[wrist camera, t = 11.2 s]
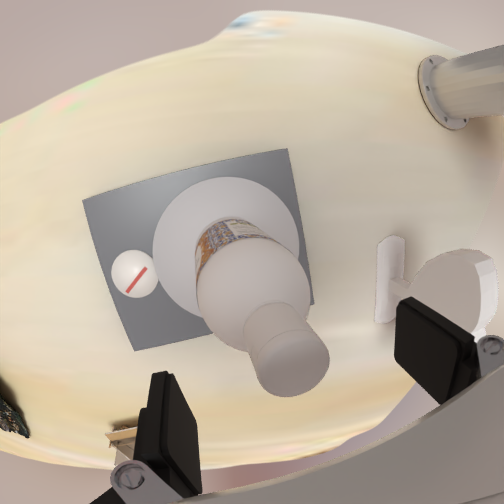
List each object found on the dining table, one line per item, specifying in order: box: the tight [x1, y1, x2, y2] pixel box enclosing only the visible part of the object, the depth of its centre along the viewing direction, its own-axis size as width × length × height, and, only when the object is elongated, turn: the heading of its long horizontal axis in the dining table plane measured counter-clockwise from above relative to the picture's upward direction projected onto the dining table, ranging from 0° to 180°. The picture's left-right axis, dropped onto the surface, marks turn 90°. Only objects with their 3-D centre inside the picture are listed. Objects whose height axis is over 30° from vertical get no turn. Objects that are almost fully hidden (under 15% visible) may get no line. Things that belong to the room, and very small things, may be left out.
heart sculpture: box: [374, 235, 498, 343], centre depth 30 cm, size 16×5×18 cm, turn 6°
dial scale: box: [82, 148, 314, 351], centre depth 31 cm, size 22×18×4 cm
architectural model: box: [105, 426, 137, 466], centre depth 34 cm, size 3×7×7 cm, turn 110°
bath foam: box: [195, 217, 330, 397], centre depth 20 cm, size 7×7×20 cm
